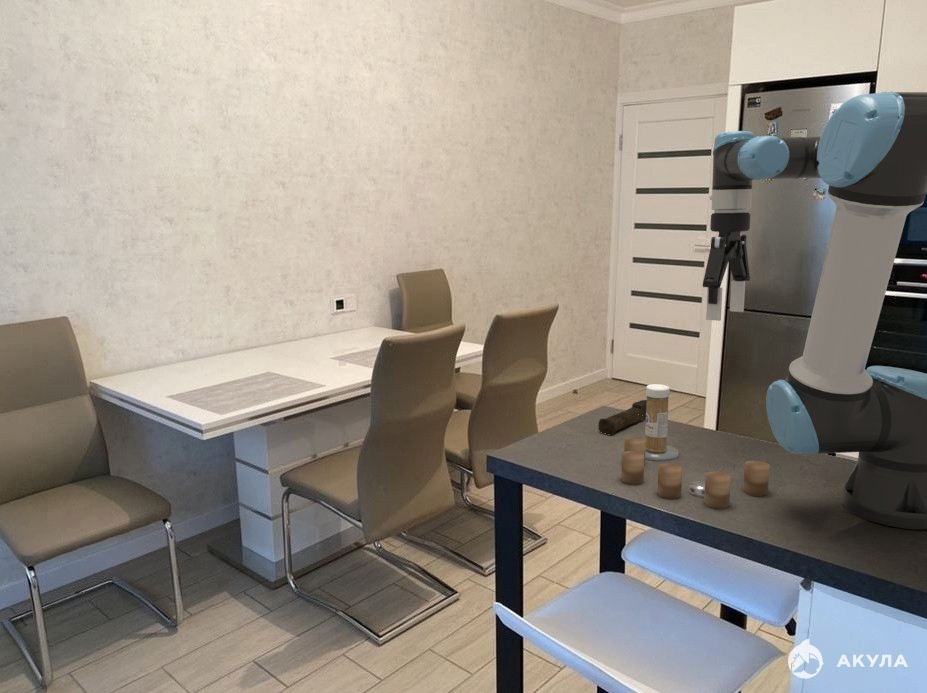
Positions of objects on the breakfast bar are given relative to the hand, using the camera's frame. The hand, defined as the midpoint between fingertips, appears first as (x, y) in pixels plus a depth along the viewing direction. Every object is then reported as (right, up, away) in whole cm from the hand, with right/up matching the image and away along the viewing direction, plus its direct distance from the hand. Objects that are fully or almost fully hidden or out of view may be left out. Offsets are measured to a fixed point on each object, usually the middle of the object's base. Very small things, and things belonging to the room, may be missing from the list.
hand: (725, 315), depth 147 cm
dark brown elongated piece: (-17, -25, +16) cm, 34 cm away
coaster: (-15, -28, -3) cm, 32 cm away
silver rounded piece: (-13, -32, -23) cm, 42 cm away
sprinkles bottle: (-15, -28, -3) cm, 32 cm away
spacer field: (-15, -31, -18) cm, 39 cm away
